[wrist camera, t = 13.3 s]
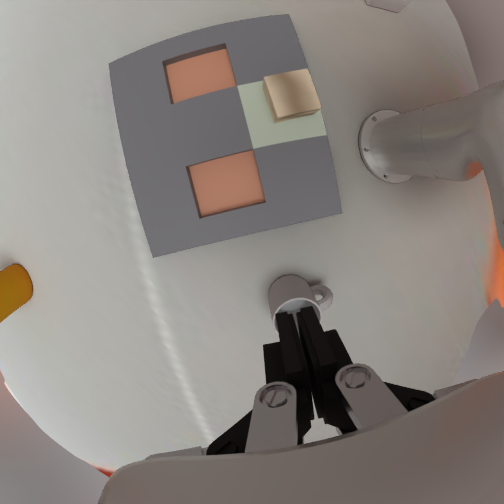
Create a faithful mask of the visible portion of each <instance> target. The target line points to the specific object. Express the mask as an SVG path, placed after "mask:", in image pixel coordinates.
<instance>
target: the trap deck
mask: <svg viewBox="0 0 504 504" xmlns="http://www.w3.org/2000/svg"><path fill="white" fill-rule="evenodd" d="M301 69H308V66H307V63H306V60H305V57H304V54H303V51H302V48H301V45H300V42H299V39H298V37H297V34H296V31H295V29H294V26H293V23H292V21H291V18H290V16H289V14H285V15H275V16H266V17H259V18H252V19H246V20H240V21H235V22H230V23H225V24H220V25H216V26H212V27H208V28H204V29H200V30H196V31H193V32H189V33H186V34H182V35H179V36H176V37H173V38H170V39H167V40H164V41H161V42H159V43H156V44H153V45H150V46H148V47H145V48H143V49H140V50H138V51H136V52H133V53H131V54H129V55H126V56H124V57H122V58H120V59H117V60H115V61H113V62H111V63H109V71H110V79H111V86H112V93H113V99H114V105H115V111H116V117H117V122H118V128H119V133H120V138H121V142H122V147H123V152H124V156H125V160H126V165H127V169H128V173H129V177H130V181H131V185H132V189H133V193H134V196H135V200H136V204H137V207H138V211H139V214H140V218H141V221H142V224H143V228H144V231H145V234H146V237H147V240H148V244H149V247H150V250H151V253H152V256H153V258H154V257H158V256H162V255H166V254H170V253H174V252H178V251H182V250H186V249H190V248H194V247H198V246H202V245H206V244H211V243H215V242H219V241H223V240H227V239H231V238H236V237H240V236H244V235H248V234H253V233H257V232H261V231H265V230H270V229H274V228H278V227H283V226H287V225H292V224H296V223H300V222H305V221H309V220H314V219H318V218H323V217H327V216H332V215H337V214H341V213H342V208H341V202H340V196H339V190H338V185H337V180H336V175H335V170H334V165H333V160H332V155H331V151H330V147H329V142H328V138H327V134H326V130H325V126H324V122H323V118H322V114H321V110H319V111H317V112H316V113H315V114H313V115H308V116H304V117H299V118H295V119H290V120H286V121H282V122H278V123H274V120H273V117H272V114H271V111H270V108H269V105H268V102H267V99H266V96H265V93H264V91H263V88H262V85H263V79H264V77H266V76H270V75H275V74H280V73H285V72H290V71H295V70H301ZM308 71H309V69H308ZM309 74H310V72H309ZM310 77H311V75H310Z"/></svg>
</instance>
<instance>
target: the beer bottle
mask: <svg viewBox="0 0 504 504" xmlns="http://www.w3.org/2000/svg"><path fill="white" fill-rule="evenodd" d="M32 293H33V287H32V282H31V279H30V277H29V275H28V273H27V272H26V270H25V269H24V268H23V267H22V266H20V265H18V264H14V265H11V266H9V267H7V268H5V269H4V270H2V271H0V322H2V321H3V320H4V319H5V318H7V317H8V316H9V315H10V314H12V313H13V312H14V311H15V310H17V309H18V308H19V307H21V306H22V305H23V304H25V303H26V302H28V301H29V299H30V298H31V296H32Z"/></svg>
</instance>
